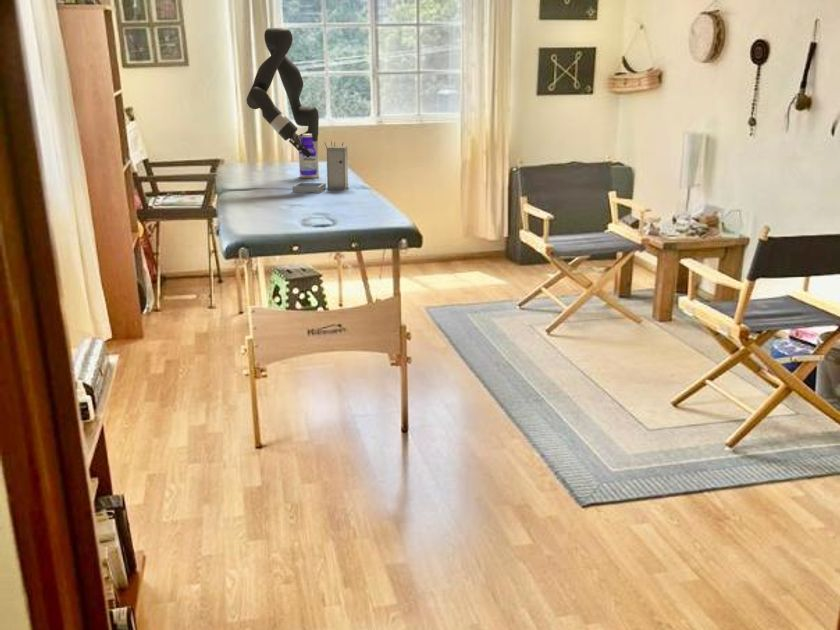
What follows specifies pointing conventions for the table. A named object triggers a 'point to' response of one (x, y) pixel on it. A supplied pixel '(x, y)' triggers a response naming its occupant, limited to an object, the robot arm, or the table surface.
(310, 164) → the bottle
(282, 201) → the table surface
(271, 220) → the table surface
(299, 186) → the tray
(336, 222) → the table surface
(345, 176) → the grey slotted box
